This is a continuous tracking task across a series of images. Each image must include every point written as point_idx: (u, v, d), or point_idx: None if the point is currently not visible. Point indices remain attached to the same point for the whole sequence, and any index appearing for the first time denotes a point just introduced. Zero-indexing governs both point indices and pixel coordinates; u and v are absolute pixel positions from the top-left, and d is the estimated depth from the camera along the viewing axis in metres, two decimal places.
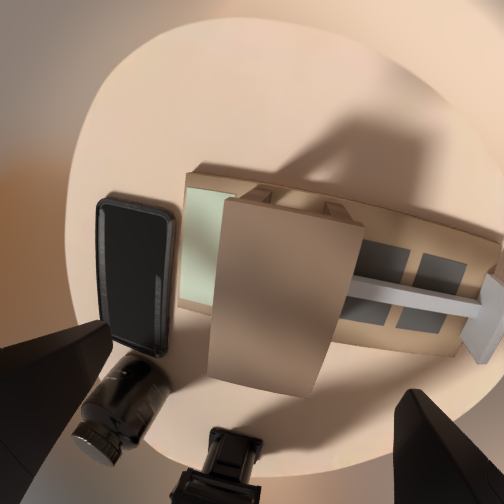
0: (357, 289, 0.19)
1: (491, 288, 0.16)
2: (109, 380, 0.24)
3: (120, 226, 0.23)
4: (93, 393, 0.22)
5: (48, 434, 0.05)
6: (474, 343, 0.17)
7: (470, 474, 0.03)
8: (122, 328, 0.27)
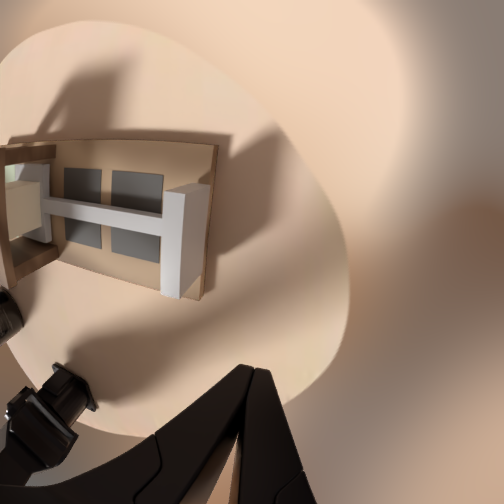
0: (60, 208, 0.19)
1: None
2: None
3: None
4: None
5: None
6: None
7: (264, 478, 0.04)
8: None
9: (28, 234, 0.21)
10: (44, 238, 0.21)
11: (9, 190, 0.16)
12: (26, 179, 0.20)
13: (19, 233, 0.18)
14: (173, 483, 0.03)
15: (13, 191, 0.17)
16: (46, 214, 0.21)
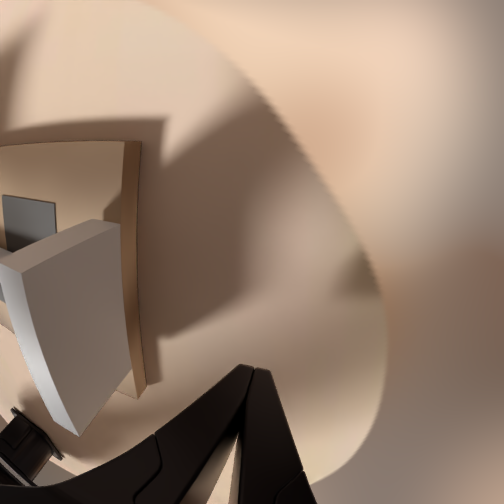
0: None
1: None
2: None
3: None
4: None
5: None
6: None
7: (264, 478, 0.04)
8: None
9: None
10: None
11: None
12: None
13: None
14: (173, 483, 0.03)
15: None
16: None
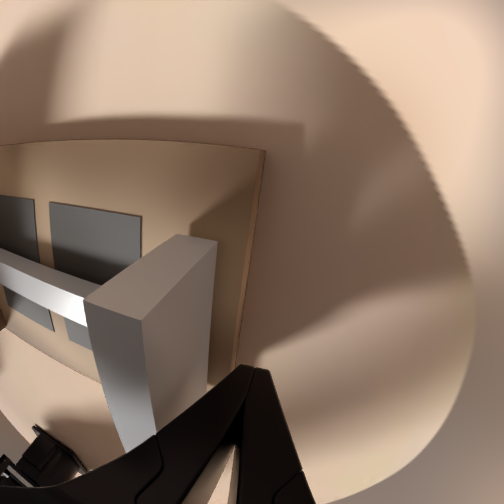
0: None
1: None
2: None
3: None
4: None
5: None
6: None
7: (263, 478, 0.04)
8: None
9: None
10: None
11: None
12: None
13: None
14: (174, 483, 0.03)
15: None
16: None
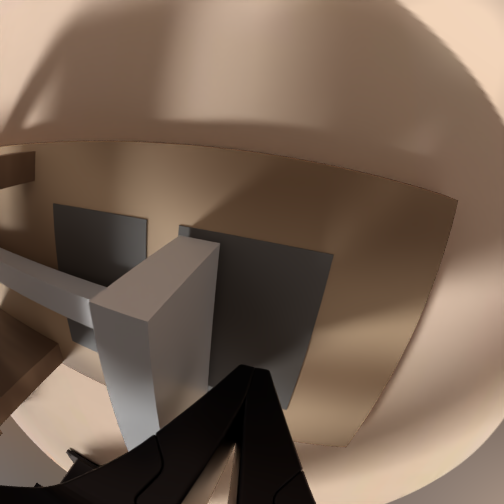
0: None
1: None
2: None
3: None
4: None
5: None
6: None
7: (263, 478, 0.04)
8: None
9: None
10: None
11: None
12: None
13: None
14: (174, 483, 0.03)
15: None
16: None
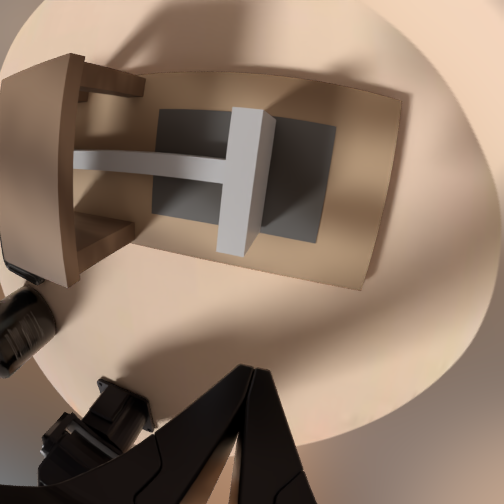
0: (74, 159, 0.16)
1: None
2: None
3: None
4: None
5: None
6: None
7: (264, 478, 0.04)
8: None
9: None
10: None
11: None
12: None
13: None
14: (173, 483, 0.03)
15: None
16: None
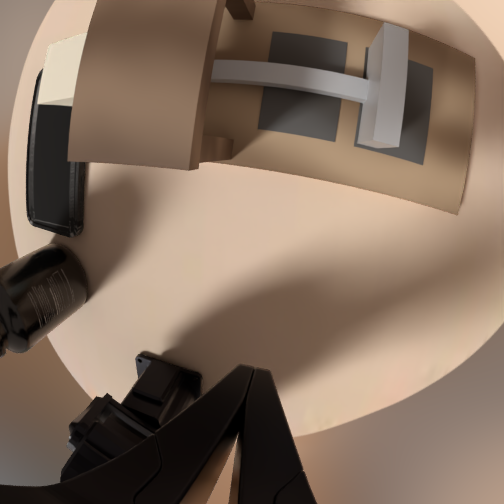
0: None
1: (372, 51, 0.11)
2: (15, 260, 0.18)
3: None
4: None
5: None
6: (368, 124, 0.12)
7: (264, 478, 0.04)
8: (43, 206, 0.21)
9: None
10: None
11: None
12: None
13: None
14: (173, 483, 0.03)
15: None
16: None
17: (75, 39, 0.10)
